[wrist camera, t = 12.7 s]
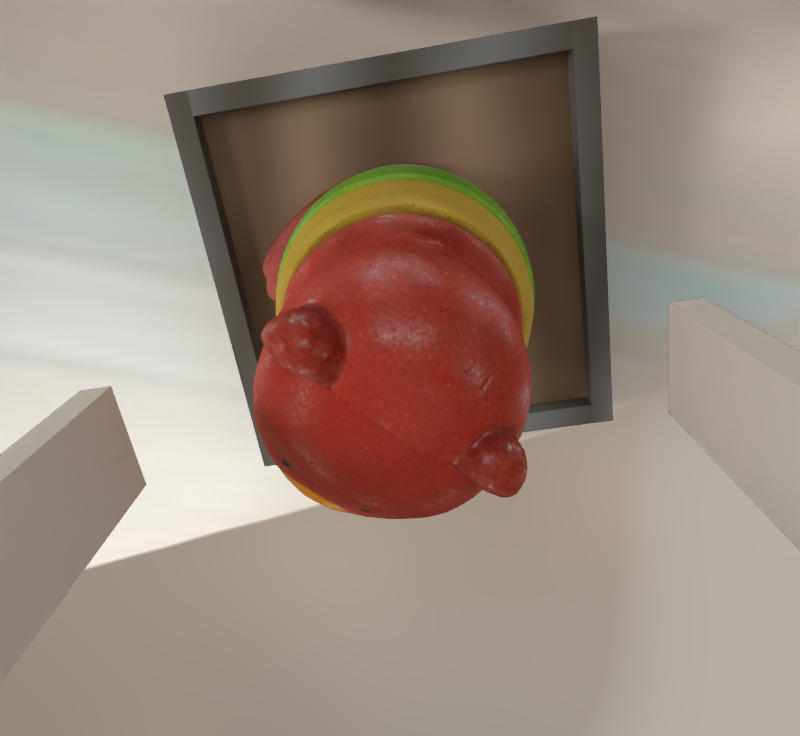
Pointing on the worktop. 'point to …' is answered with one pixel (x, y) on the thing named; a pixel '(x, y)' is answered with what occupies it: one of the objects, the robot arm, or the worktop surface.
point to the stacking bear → (397, 346)
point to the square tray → (430, 145)
